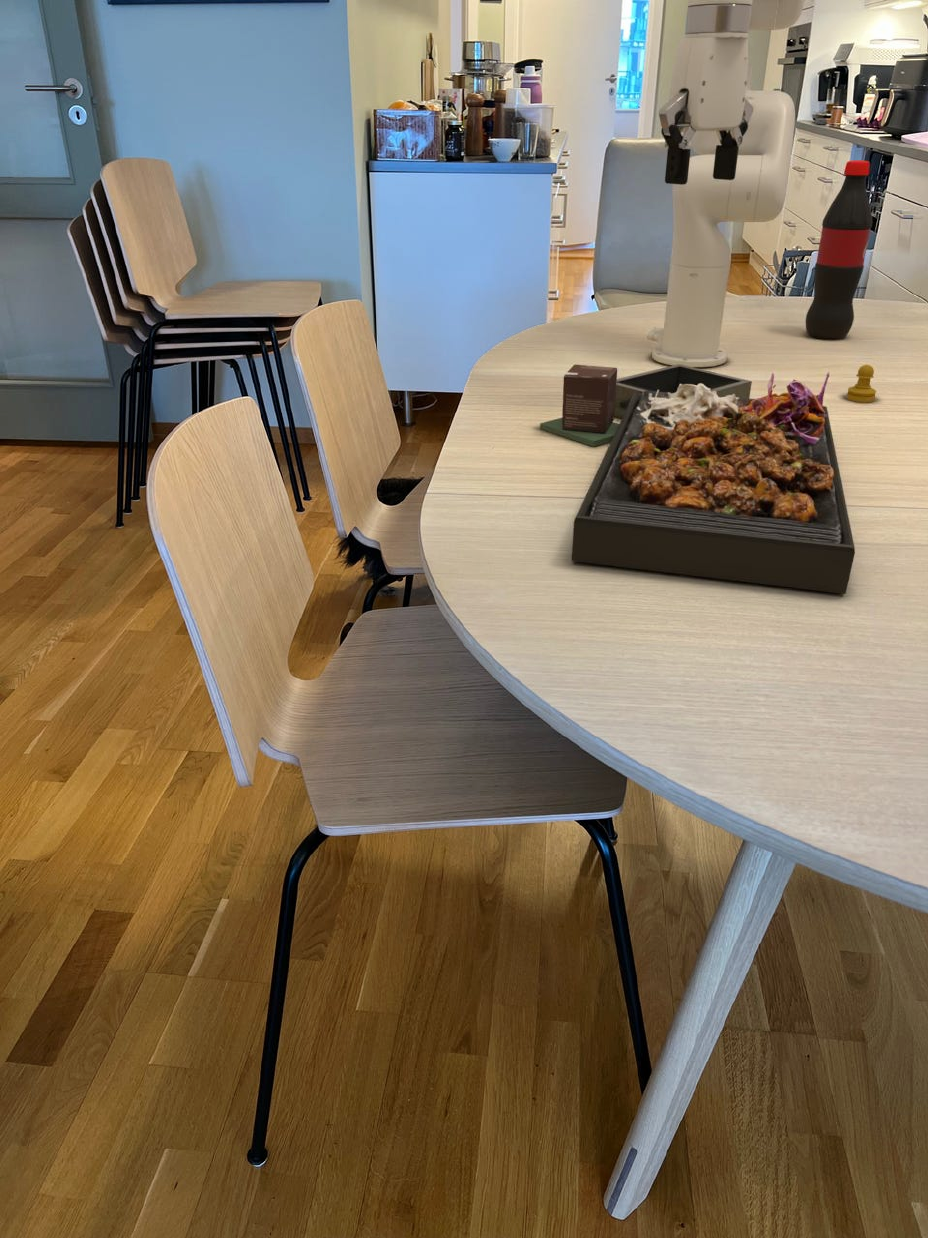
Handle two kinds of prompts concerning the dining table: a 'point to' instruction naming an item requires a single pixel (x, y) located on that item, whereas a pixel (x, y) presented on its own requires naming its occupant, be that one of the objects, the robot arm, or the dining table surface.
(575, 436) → the mat
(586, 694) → the dining table surface
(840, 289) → the cola bottle
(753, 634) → the dining table surface
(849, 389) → the chess piece
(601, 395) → the box
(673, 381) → the dark grey tray
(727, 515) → the food platter
